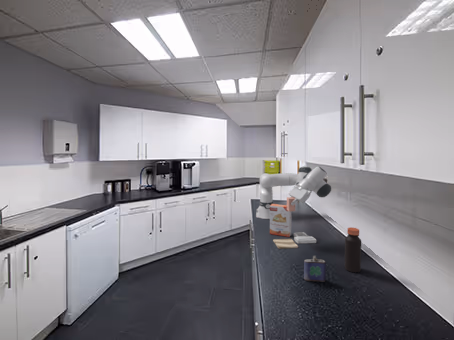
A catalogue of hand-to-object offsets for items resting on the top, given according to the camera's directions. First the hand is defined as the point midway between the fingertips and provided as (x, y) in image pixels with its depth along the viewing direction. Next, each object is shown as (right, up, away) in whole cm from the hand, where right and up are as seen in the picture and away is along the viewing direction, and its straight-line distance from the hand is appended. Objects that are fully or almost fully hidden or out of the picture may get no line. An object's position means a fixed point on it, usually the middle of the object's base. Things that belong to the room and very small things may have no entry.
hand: (289, 203), depth 137 cm
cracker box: (-2, -24, +17) cm, 30 cm away
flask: (0, -28, -39) cm, 48 cm away
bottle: (+22, -27, -31) cm, 47 cm away
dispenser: (+11, -25, +8) cm, 28 cm away
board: (-3, -25, 0) cm, 26 cm away
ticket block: (+1, -4, 0) cm, 4 cm away
